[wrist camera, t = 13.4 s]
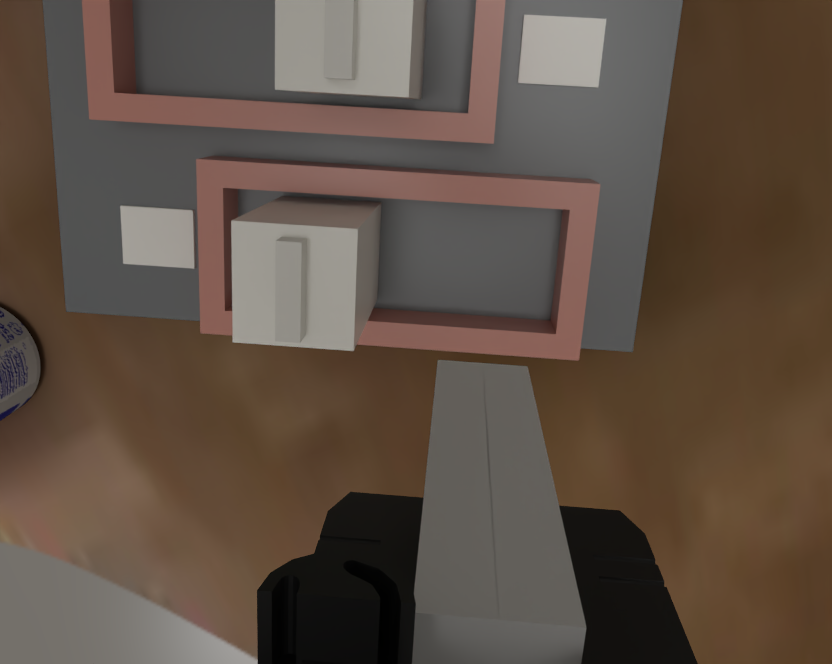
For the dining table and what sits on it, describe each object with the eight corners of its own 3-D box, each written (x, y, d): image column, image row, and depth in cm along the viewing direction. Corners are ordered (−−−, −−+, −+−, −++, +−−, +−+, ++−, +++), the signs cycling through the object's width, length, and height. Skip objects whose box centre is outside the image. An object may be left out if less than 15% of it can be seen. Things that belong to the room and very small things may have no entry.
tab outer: (282, 195, 31) (223, 224, 23) (381, 202, 31) (354, 232, 23) (281, 292, 32) (225, 349, 25) (377, 299, 32) (350, 358, 24)
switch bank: (63, -66, 31) (5, -91, 27) (674, -36, 30) (705, -57, 26) (88, 300, 35) (41, 324, 31) (623, 338, 34) (643, 367, 30)
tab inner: (319, -20, 29) (268, -65, 21) (427, -14, 28) (414, -58, 21) (317, 93, 30) (268, 89, 22) (421, 99, 29) (406, 96, 22)
